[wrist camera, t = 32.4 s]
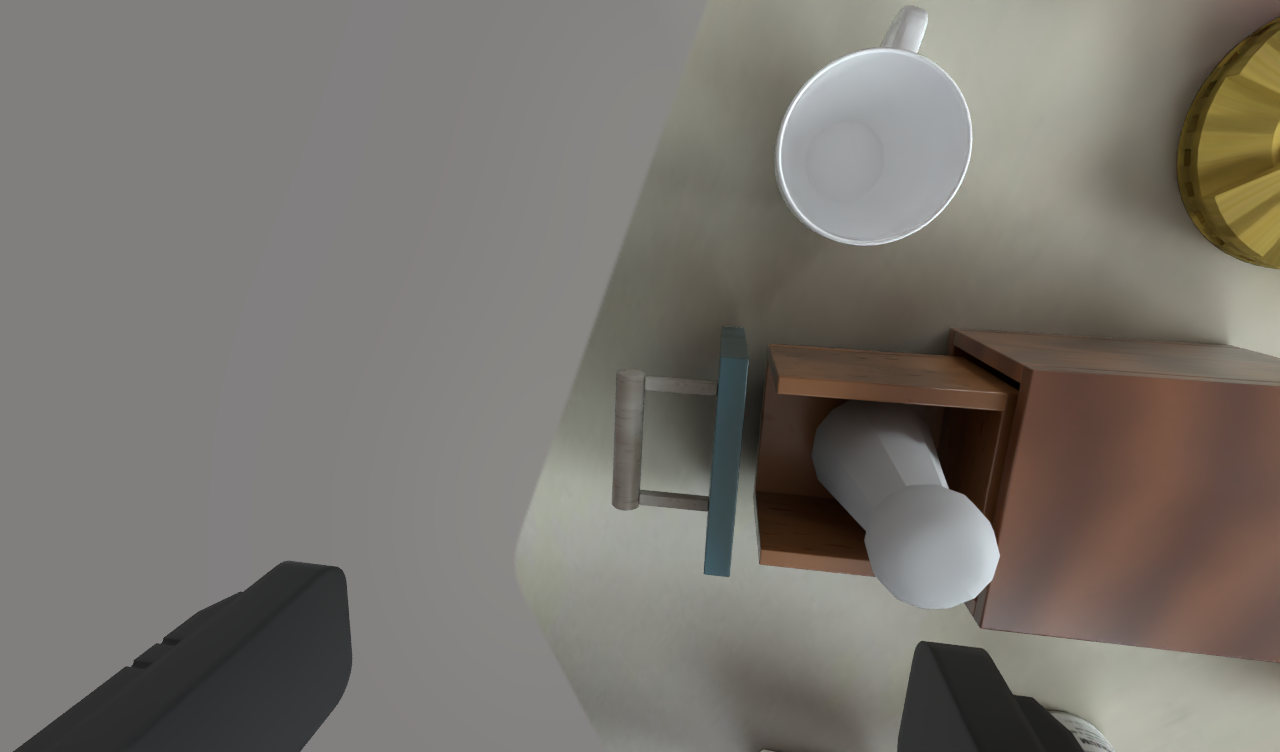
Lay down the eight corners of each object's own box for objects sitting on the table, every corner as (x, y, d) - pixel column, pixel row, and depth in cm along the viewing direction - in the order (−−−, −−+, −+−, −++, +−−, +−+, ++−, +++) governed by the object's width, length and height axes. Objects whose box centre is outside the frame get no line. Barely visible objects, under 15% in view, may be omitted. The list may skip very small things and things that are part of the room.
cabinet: (916, 525, 37) (979, 629, 28) (950, 327, 34) (1032, 369, 25) (1172, 550, 35) (1329, 669, 26) (1230, 345, 33) (1429, 396, 23)
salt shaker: (807, 488, 35) (851, 640, 23) (803, 388, 34) (847, 490, 21) (920, 484, 34) (1030, 639, 22) (920, 381, 33) (1037, 482, 21)
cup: (746, 215, 34) (751, 215, 28) (812, 12, 31) (835, -40, 25) (888, 258, 34) (927, 268, 27) (967, 56, 31) (1031, 14, 24)
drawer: (625, 494, 38) (600, 563, 30) (632, 320, 35) (607, 349, 28) (932, 524, 36) (986, 606, 28) (964, 342, 33) (1032, 379, 26)
